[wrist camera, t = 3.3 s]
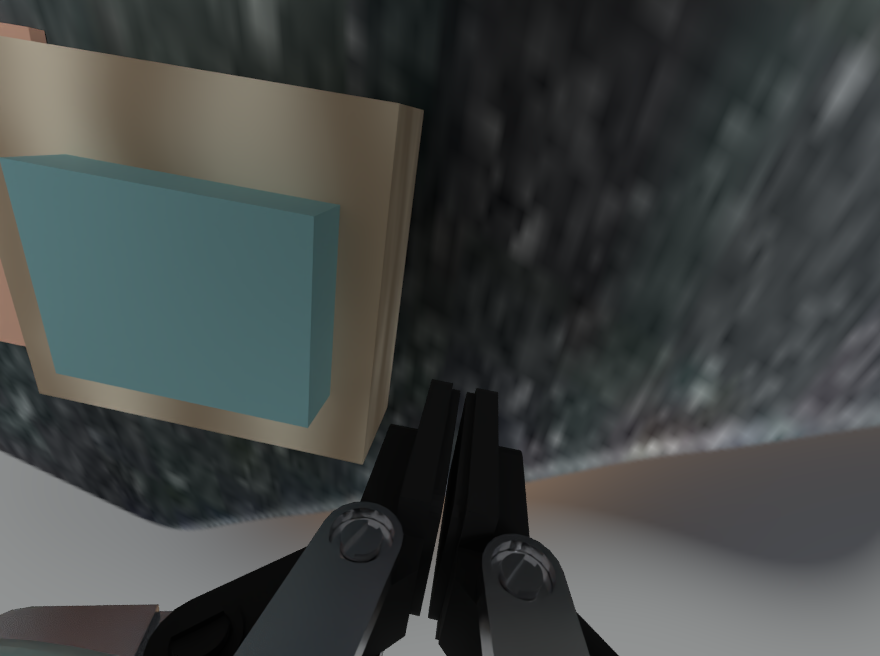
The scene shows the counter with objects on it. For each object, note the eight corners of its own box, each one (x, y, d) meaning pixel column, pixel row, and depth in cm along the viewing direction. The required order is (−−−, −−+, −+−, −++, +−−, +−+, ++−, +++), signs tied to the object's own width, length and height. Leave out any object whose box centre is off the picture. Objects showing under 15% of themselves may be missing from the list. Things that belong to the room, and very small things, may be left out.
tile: (340, 204, 13) (313, 216, 11) (330, 394, 16) (307, 428, 14) (65, 154, 14) (-2, 157, 12) (104, 347, 17) (56, 373, 15)
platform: (424, 110, 15) (399, 103, 12) (387, 407, 21) (362, 464, 17) (59, 48, 16) (-68, 24, 13) (116, 350, 22) (39, 393, 18)
